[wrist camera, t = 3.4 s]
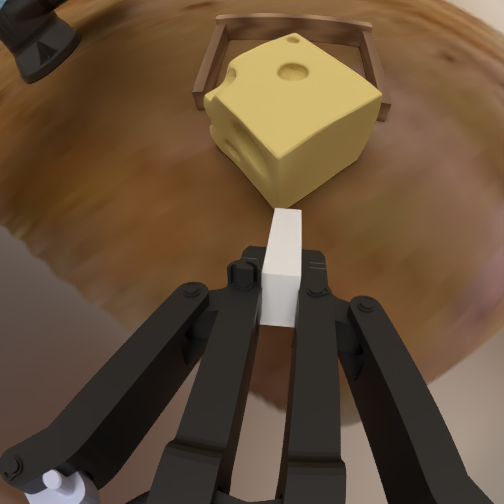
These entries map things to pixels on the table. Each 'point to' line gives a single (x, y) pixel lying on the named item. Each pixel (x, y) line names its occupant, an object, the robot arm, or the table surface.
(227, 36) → the brown wooden u frame
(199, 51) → the table surface
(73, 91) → the table surface
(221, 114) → the cheese
